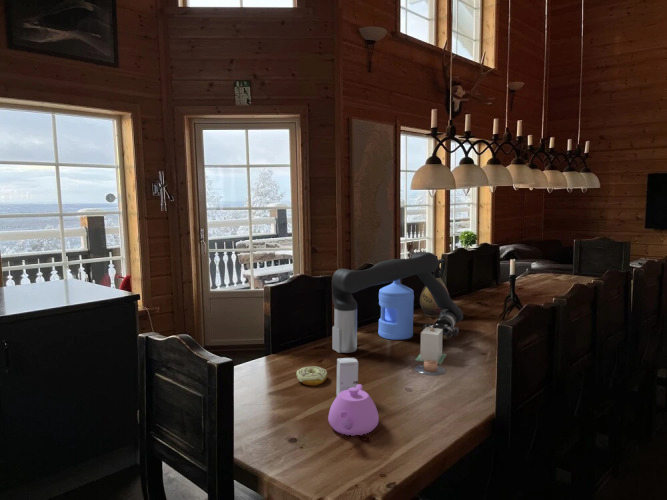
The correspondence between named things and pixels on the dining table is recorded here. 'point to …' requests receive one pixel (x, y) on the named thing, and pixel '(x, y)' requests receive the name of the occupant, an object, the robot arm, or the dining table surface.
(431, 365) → the clay bowl
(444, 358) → the felt mat
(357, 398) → the teapot
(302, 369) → the decorated donut
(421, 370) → the slate coaster
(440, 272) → the ceramic jug
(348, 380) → the skincare box
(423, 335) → the ceramic cover
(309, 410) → the dining table surface
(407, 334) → the water jug
